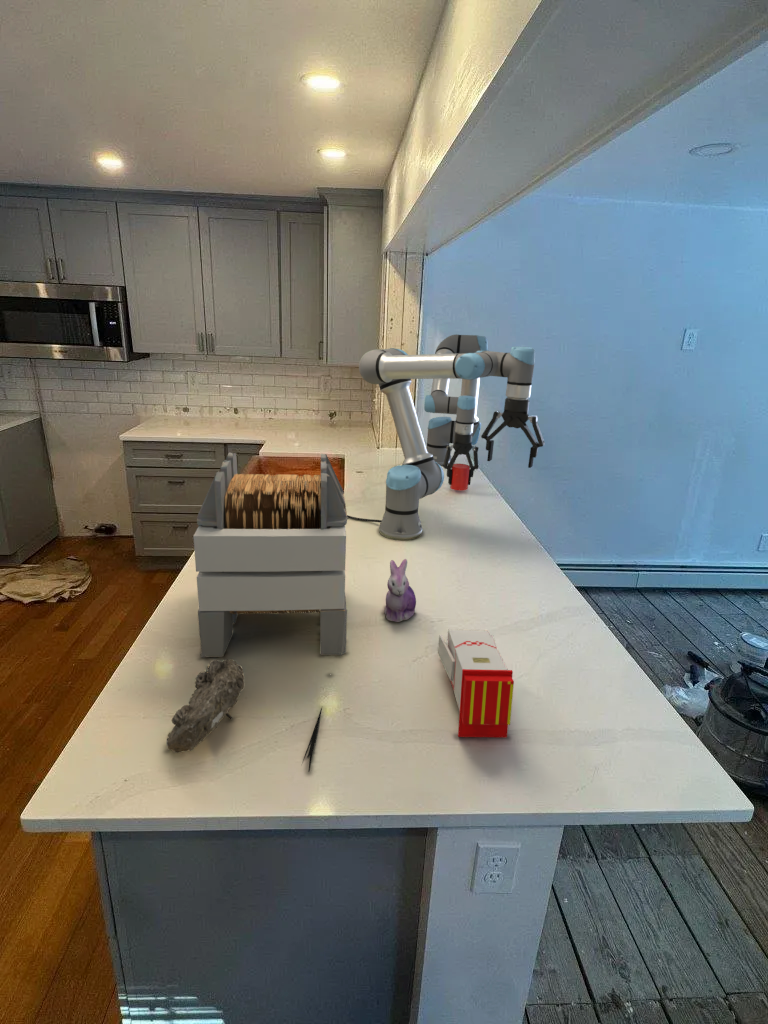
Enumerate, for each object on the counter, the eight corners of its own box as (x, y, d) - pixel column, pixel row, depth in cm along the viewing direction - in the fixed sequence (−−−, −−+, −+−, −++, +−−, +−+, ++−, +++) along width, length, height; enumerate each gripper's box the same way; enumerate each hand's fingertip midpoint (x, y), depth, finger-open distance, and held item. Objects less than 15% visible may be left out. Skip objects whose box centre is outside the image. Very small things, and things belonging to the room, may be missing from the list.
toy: (488, 613, 130) (523, 677, 101) (484, 667, 133) (517, 744, 104) (435, 612, 130) (455, 676, 101) (432, 666, 133) (451, 743, 103)
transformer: (222, 587, 156) (213, 443, 143) (341, 586, 160) (343, 445, 146) (198, 659, 125) (184, 483, 111) (346, 655, 129) (350, 484, 115)
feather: (331, 679, 122) (336, 673, 122) (307, 777, 96) (313, 769, 95) (324, 675, 122) (329, 669, 121) (298, 772, 95) (304, 764, 95)
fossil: (192, 660, 117) (244, 628, 112) (224, 691, 120) (276, 661, 115) (142, 746, 98) (202, 712, 93) (182, 779, 101) (242, 748, 96)
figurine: (392, 627, 141) (395, 572, 136) (374, 608, 149) (376, 556, 144) (425, 619, 145) (429, 566, 140) (405, 601, 154) (408, 550, 149)
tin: (470, 487, 251) (472, 465, 248) (463, 491, 245) (465, 469, 241) (454, 484, 255) (456, 462, 251) (447, 488, 249) (448, 466, 245)
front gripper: (560, 401, 176) (550, 467, 183) (483, 392, 187) (476, 455, 194) (555, 404, 170) (545, 472, 177) (475, 395, 180) (469, 459, 188)
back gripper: (441, 434, 237) (437, 486, 245) (489, 435, 239) (484, 486, 247) (438, 430, 244) (434, 481, 252) (485, 431, 246) (479, 481, 254)
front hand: (509, 463), depth 185 cm, fingers open, 13 cm apart
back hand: (459, 483), depth 249 cm, fingers closed on tin, 8 cm apart
